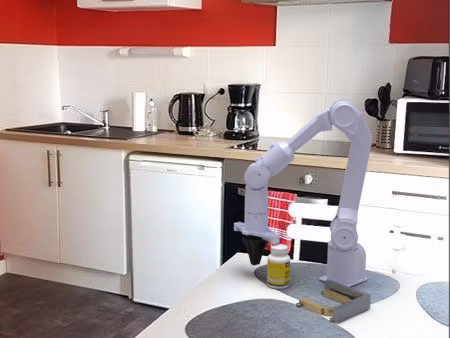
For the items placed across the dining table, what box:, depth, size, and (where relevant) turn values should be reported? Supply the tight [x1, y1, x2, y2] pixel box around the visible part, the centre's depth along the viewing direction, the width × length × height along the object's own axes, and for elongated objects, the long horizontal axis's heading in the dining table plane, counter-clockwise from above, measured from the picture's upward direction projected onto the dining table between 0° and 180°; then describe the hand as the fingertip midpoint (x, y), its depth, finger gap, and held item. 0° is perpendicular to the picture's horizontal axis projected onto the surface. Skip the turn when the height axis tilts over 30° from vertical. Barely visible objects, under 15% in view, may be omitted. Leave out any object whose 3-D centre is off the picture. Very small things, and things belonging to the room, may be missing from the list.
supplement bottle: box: [266, 243, 291, 290], centre depth 137 cm, size 5×5×10 cm
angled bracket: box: [295, 279, 372, 324], centre depth 126 cm, size 12×12×3 cm
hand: (255, 264), depth 143 cm, fingers closed
